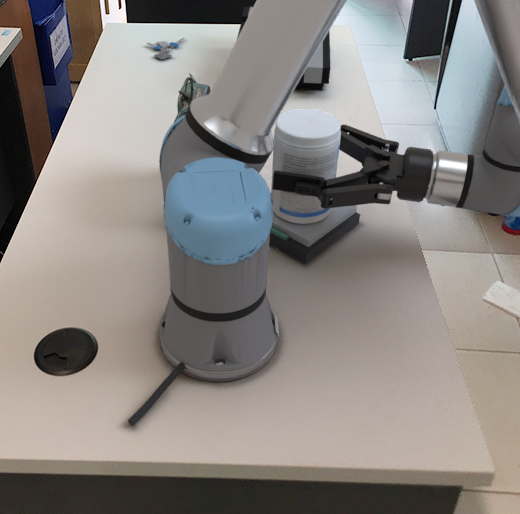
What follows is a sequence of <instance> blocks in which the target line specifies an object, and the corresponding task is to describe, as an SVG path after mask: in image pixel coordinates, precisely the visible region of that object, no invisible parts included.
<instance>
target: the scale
mask: <svg viewBox="0 0 520 514" xmlns="http://www.w3.org/2000/svg"><path fill="white" fill-rule="evenodd" d="M270 194H271V192H270ZM357 206H358V205H353V206H345V207H336V208H331V211H330V213H329V214H328V215H327V216H326V217H325V218H324V219H322V220H320V221H318V222H314V223H309V224H297V223H292V222H289V221H286V220H284V219H282V218H280V217H279V216H277V215H276V214H275V213H274V211H273V219H272V227H271V229H270V241H269V246H271V247H273V248H275V249H277V250H278V251H281V253H284V254H286V255H288V256H290V257H291V258H293V259H295V260H297V261H299V262H301V263H302V264H304V265H306V264H308V263H309V262H311V261H312V260H313V259H315V258H316V257H317V256H319V255H320V254H321V253H323V252H324V251H325V250H326V249H328V248H329V247H330V246H332V245H333V244H334V243H336V242H337V241H338V240H340V239H342V238H343V237H344V236H345V235H347V234H348V233H349V232H350V231H352V230H353V229H355V228H356V227H357V226H358V225H359V224H360V218H361V213H359V212H357Z"/></svg>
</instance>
